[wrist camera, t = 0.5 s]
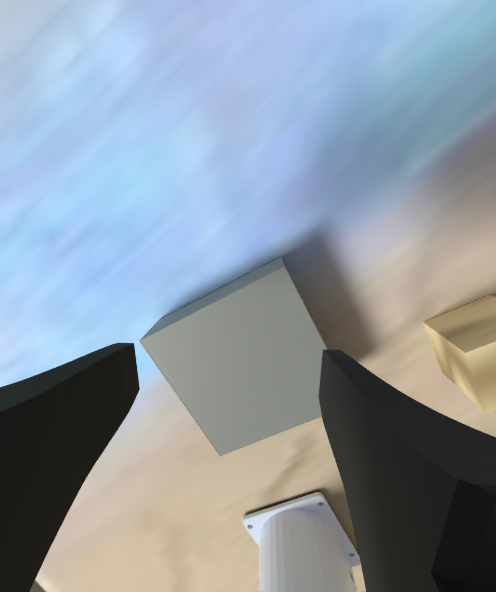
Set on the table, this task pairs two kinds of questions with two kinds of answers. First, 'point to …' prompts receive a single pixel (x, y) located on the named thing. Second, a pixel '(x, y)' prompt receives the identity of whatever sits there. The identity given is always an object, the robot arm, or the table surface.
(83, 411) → the robot arm
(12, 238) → the table surface
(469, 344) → the oak cube
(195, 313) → the gray block
